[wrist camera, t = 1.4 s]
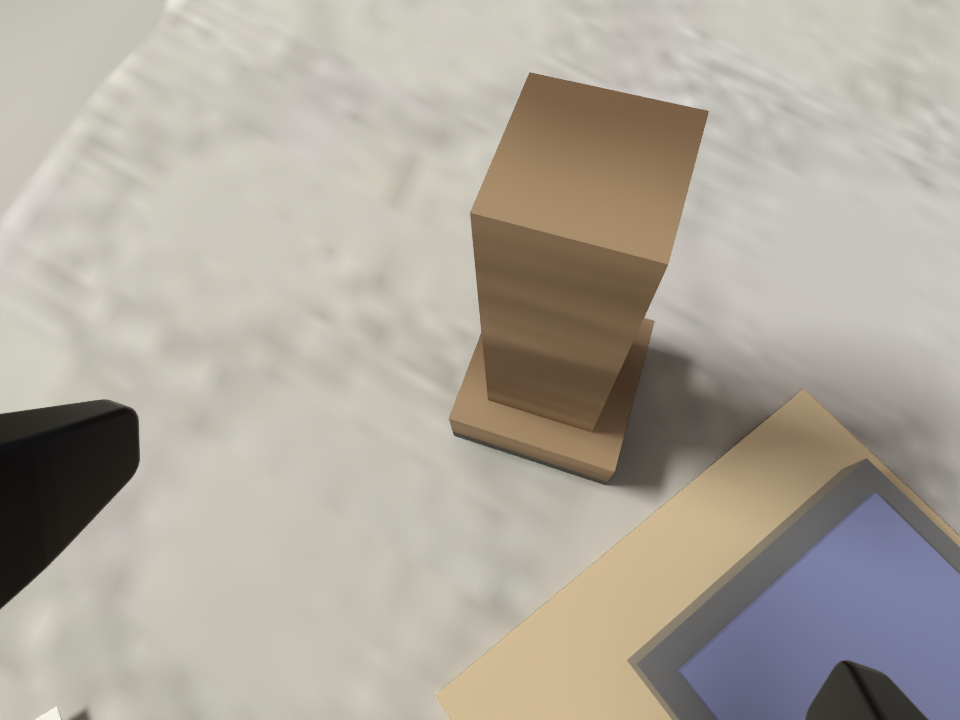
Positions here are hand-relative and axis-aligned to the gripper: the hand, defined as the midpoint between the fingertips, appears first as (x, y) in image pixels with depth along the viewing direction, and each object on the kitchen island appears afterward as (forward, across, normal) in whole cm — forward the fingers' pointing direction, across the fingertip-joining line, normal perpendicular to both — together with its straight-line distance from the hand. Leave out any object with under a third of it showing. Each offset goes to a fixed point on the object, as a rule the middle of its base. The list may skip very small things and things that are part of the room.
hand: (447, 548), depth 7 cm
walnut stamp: (+14, 0, +4) cm, 15 cm away
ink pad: (+10, -11, +8) cm, 17 cm away
